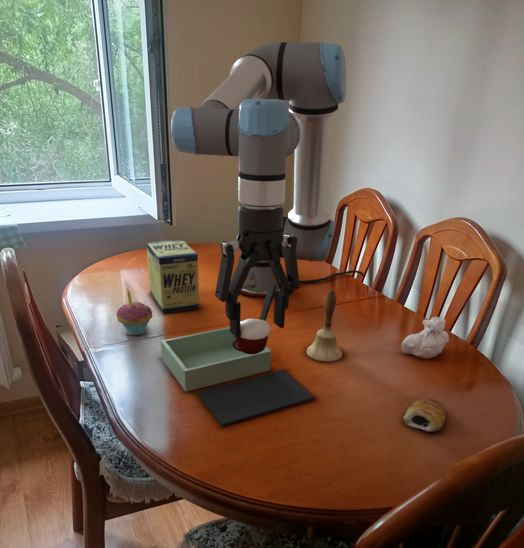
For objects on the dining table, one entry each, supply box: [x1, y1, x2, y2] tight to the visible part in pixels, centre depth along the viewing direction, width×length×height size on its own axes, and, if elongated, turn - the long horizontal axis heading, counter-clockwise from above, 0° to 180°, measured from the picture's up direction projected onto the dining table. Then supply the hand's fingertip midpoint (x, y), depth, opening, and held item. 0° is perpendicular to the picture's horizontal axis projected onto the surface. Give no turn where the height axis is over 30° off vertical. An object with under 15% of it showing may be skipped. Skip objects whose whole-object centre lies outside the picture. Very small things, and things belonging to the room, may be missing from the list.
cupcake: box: [116, 288, 153, 336], centre depth 120 cm, size 9×8×12 cm
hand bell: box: [306, 288, 343, 363], centre depth 111 cm, size 8×8×16 cm
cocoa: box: [232, 283, 276, 354], centre depth 90 cm, size 10×6×12 cm, turn 111°
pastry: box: [403, 397, 447, 433], centre depth 93 cm, size 9×7×4 cm
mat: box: [196, 369, 315, 427], centre depth 98 cm, size 20×12×1 cm, turn 119°
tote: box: [160, 326, 272, 393], centre depth 108 cm, size 20×15×5 cm
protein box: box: [145, 239, 200, 315], centre depth 136 cm, size 10×16×16 cm
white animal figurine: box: [400, 316, 450, 359], centre depth 113 cm, size 12×8×11 cm
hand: (257, 329), depth 91 cm, fingers closed on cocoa, 8 cm apart
